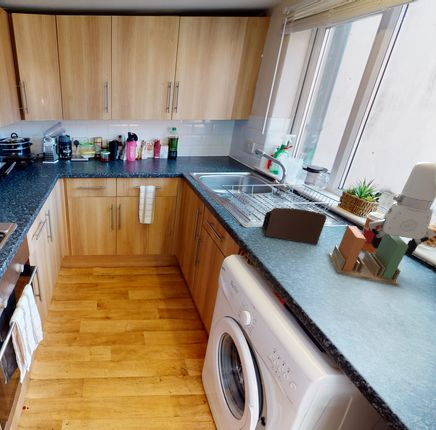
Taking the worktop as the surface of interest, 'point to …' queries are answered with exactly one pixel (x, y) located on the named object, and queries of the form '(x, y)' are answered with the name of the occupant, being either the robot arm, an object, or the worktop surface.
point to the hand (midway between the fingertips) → (390, 249)
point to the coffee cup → (368, 233)
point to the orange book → (351, 246)
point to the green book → (390, 254)
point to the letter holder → (294, 224)
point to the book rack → (363, 267)
